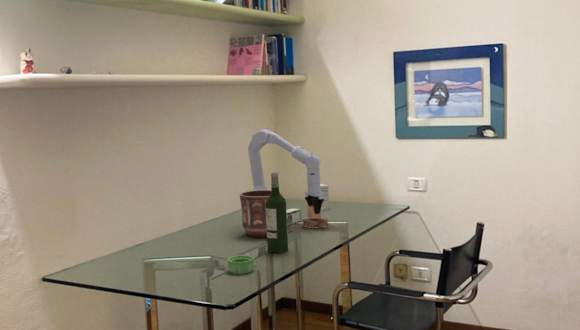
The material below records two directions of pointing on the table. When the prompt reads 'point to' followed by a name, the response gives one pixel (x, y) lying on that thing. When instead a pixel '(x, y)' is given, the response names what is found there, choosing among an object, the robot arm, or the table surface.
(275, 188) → the wine bottle
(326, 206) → the supplement box
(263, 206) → the pottery
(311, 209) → the terracotta cube
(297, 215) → the syrup box
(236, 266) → the ramekin
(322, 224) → the walnut block
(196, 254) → the table surface
